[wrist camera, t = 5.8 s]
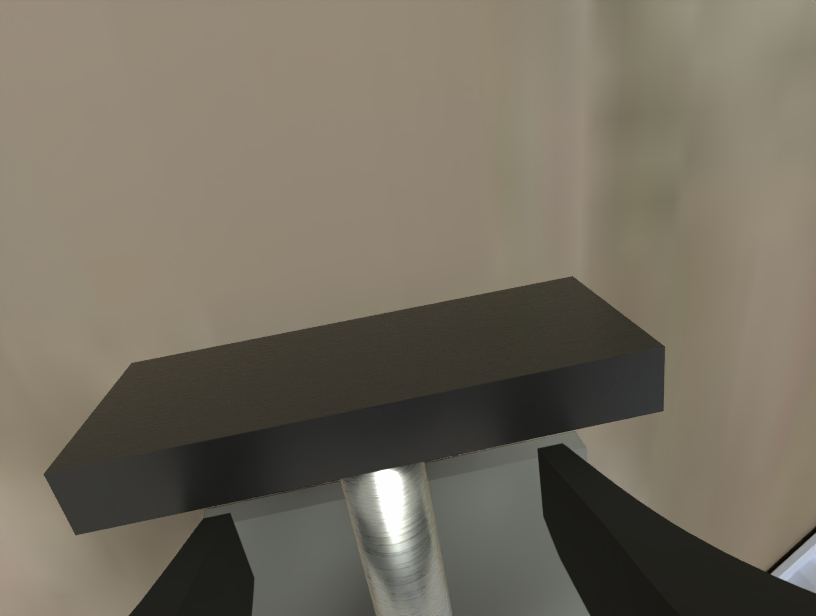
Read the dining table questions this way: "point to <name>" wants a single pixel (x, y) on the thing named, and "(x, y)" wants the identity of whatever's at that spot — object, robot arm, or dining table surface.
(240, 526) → the mat
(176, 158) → the dining table surface
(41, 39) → the dining table surface
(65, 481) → the grey and silver t-piece
